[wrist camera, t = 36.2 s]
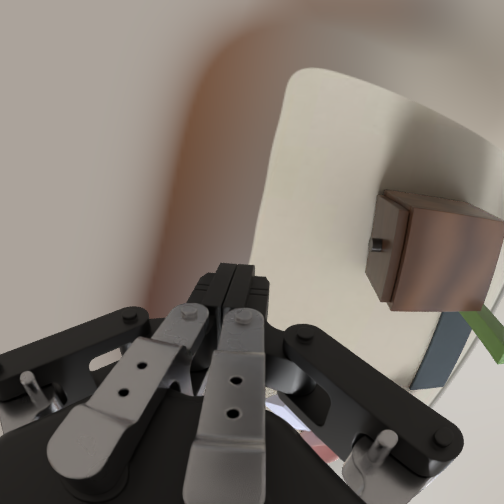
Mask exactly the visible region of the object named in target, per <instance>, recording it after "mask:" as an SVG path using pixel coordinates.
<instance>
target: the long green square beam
mask: <svg viewBox="0 0 504 504" xmlns="http://www.w3.org/2000/svg"><path fill="white" fill-rule="evenodd" d="M459 313H460V314H461V315H462V317H463V318H464V319H465V320H466V322H467V323H468V324H469V326H470V327H471V328H472V330H473V331H474V332H475V334H476V335H477V336H478V338H479V339H480V340H481V342H482V343H483V344H484V346H485V347H486V349H487V350H488V351H489V353H490V354H491V356H492V357H493V359H494V360H495V362H496V363H497V364H504V326H503V325H502V324H501V323H500V322H499V321H498V320H497V318H496V317H495V316H494V315H493V314H492V313H491V312H490V310H489V309H488V308H487V307H486V306H485V305H484V304H483V306H482V309H481V311H459Z"/></svg>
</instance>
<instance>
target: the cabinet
mask: <svg viewBox="0 0 504 504" xmlns="http://www.w3.org/2000/svg"><path fill="white" fill-rule="evenodd" d="M384 195H386V196H387V197H389V198H390V199H392V200H393V201H395V202H396V203H398V204H400V205H401V206H403V207H404V208H406V209H407V210H409V213H410V217H409V223H408V228H407V234H406V239H405V244H404V249H403V254H402V259H401V263H400V267H399V272H398V276H397V280H396V284H395V286H394V288H393V292H392V296H391V300H390V302H387V304H388V306H389V308H390V310H391V311H405V312H459V311H481V309H482V306H483V304H484V301H485V298H486V295H487V293H488V290H489V287H490V284H491V281H492V278H493V275H494V271H495V268H496V265H497V261H498V258H499V254H500V250H501V247H502V243H503V238H504V221H503V220H501V219H500V218H498V217H496V216H494V215H492V214H490V213H488V212H486V211H484V210H482V209H480V208H478V207H476V206H474V205H471V204H469V203H466V202H461V201H456V200H450V199H444V198H438V197H432V196H426V195H420V194H413V193H406V192H399V191H392V190H384Z"/></svg>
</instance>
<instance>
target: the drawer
mask: <svg viewBox="0 0 504 504" xmlns="http://www.w3.org/2000/svg"><path fill="white" fill-rule="evenodd" d="M409 217H410V213H409V210H407V209H406V208H404V207H403V206H401V205H400V204H398V203H396V202H395V201H393V200H392V199H390V198H389V197H387V196H386V195H377V201H376V209H375V216H374V223H373V230H372V236H371V238H370V240H369V254H368V259H367V265H366V270H365V273H366V275H367V277H368V279H369V280H370V282H371V284H372V286H373V288H374V290H375V292H376V294H377V296H378V298H379V300H380V302H390V300H391V296H392V292H393V288H394V286H395V284H396V280H397V276H398V272H399V267H400V263H401V259H402V254H403V249H404V244H405V239H406V234H407V228H408V223H409Z"/></svg>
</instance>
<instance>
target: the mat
mask: <svg viewBox="0 0 504 504" xmlns="http://www.w3.org/2000/svg"><path fill="white" fill-rule="evenodd" d="M471 330H472V328H471V327H470V326H469V324H468V323H467V322H466V320H465V319H464V318H463V317H462V315H461V314H460V313H459V312H442V313H441V316H440V319H439V322H438V324H437V327H436V330H435V332H434V335H433V337H432V340H431V342H430V344H429V347H428V349H427V352H426V354H425V356H424V358H423V361H422V363H421V365H420V367H419V369H418V372H417V374H416V376H415V378H414V380H413V382H412V384H411V386H410V388H409V389H410V390H418V389H428V388H436V387H443V386H444V385H445V383H446V381H447V379H448V377H449V376H450V374H451V372H452V370H453V368H454V366H455V364H456V362H457V360H458V358H459V356H460V354H461V352H462V350H463V348H464V346H465V343H466V341H467V339H468V337H469V334H470V332H471Z"/></svg>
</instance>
